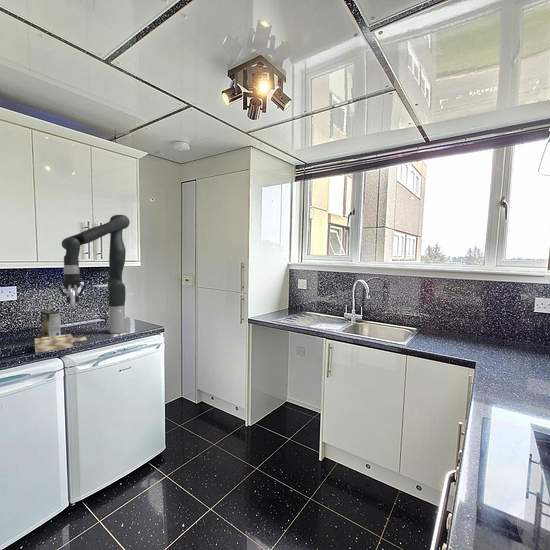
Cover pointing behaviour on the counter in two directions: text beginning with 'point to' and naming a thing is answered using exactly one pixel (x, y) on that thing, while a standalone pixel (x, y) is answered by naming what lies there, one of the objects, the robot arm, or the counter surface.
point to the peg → (72, 298)
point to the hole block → (53, 343)
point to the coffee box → (50, 323)
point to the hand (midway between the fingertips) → (72, 302)
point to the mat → (79, 339)
